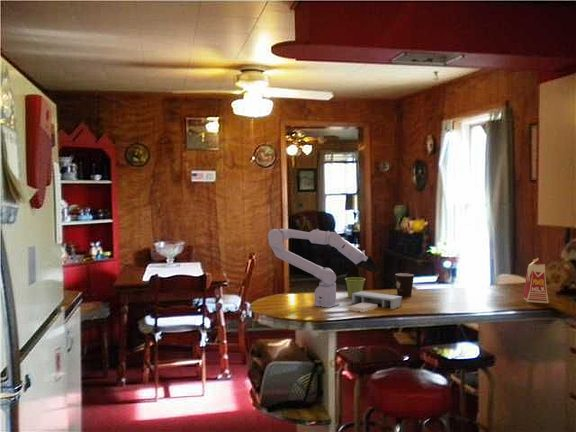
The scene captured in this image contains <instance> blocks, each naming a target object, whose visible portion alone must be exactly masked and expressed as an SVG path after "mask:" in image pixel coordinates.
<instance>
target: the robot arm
mask: <svg viewBox="0 0 576 432" xmlns="http://www.w3.org/2000/svg"><path fill="white" fill-rule="evenodd" d="M289 239H298V240H299V239H301V240H309V242H310V243H311V244H317V245H324V246H325V245H329V246H331V247H332V248H333V247H334V248H335V249H337V252H339V253H341V255H343V256H345V257H346V258H347V259H349V261H351V262H352V263H354V265H355V267H356V268H360V269H363V270H365V271H367V272H369V273H373V271H374V272H376V273H377V272H378V271H379V270H380V266H378V264H377V263H376V262H375V261H374V259H373V258H372V256H371V254H369V255H368V256H367V255H365V252H366V250H364V249H363V250H362V251H361V250H360V249H359V248H357V247H356V246H355V245H353V244H352V243H350V242H349V241H348V240H347V239H345V238H343V237H342V236H341V235H340V234H338V233H337V232H334V231H330V230H327V231H325V230H320V229H319V228H316V229H312V230H311V231H303V230H297V229H292V228H279V229H278V228H272V229H270V230H269V231H268V233H267V240H268V245H269V246H270V248H271V250H272V252H273V253H274V255H275V257H276V258H278V259H280V260H282V261H284V262H286V263H288V264H290V265H292V266H294V267H296V268H298V269H300V270H302V271H304V272H307V273H308V274H311V275H313V276H314V277H315V278H317V279H318V280H320V281H319V285H318V286H317V287H316V288H315V289H314V303H313V304H312V305H313V306H316V307H320V306H321V307H322V308H326V309H327V308H328V309H329V308H331V307H335V306H340V304H341V303H340V302H337V283H336V280H337V275H336V273H335V271H333V269H331V268H330V267H323V266H321V265H318V264H316V263H314V262H312V261H310V260H308V259H305V258H303V256H300V255H298V254H296V253H294V252H291V250H287V249H286V248H285V245H284V241H287V240H289Z"/></svg>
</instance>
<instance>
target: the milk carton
mask: <svg viewBox="0 0 576 432" xmlns="http://www.w3.org/2000/svg"><path fill="white" fill-rule="evenodd" d="M527 265H528V266H527V271H526V277H525V281H524V290H523V300H525V302H526V303H536V304H537V303H539V304H549V296H548V291H547V290H548V289H547V280H546V264H545V263H543V262H541V261H540V260H539V257H536V258H535V259H532V262H531V263H529V264H527Z"/></svg>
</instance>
